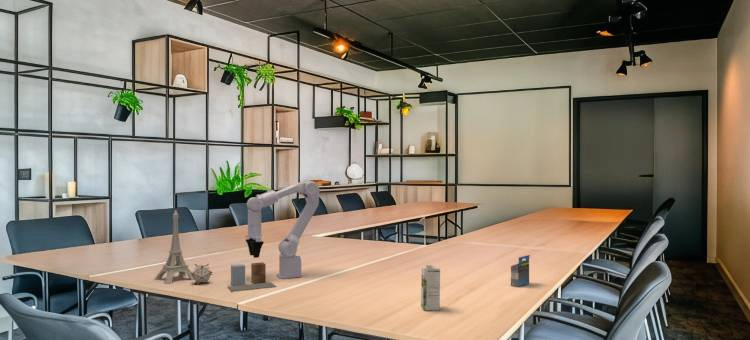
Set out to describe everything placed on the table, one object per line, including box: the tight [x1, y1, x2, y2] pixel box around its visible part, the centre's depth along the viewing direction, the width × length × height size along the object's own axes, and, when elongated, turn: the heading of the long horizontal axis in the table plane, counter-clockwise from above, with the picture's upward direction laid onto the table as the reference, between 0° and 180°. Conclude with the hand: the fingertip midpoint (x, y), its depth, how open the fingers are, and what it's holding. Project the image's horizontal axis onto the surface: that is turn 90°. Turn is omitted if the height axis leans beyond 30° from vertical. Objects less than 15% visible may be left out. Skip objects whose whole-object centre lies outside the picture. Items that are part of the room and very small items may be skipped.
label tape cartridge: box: [510, 254, 530, 288], centre depth 211 cm, size 9×4×12 cm, turn 134°
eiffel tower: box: [153, 209, 195, 285], centre depth 220 cm, size 13×13×30 cm
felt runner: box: [226, 282, 277, 292], centre depth 206 cm, size 18×8×1 cm, turn 117°
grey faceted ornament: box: [191, 263, 213, 285], centre depth 212 cm, size 9×8×10 cm
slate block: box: [230, 263, 246, 286], centre depth 210 cm, size 5×4×8 cm
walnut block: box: [250, 261, 267, 284], centre depth 214 cm, size 5×4×8 cm
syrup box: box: [420, 264, 441, 311], centre depth 176 cm, size 6×6×14 cm
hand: (254, 256), depth 220 cm, fingers open, 6 cm apart
